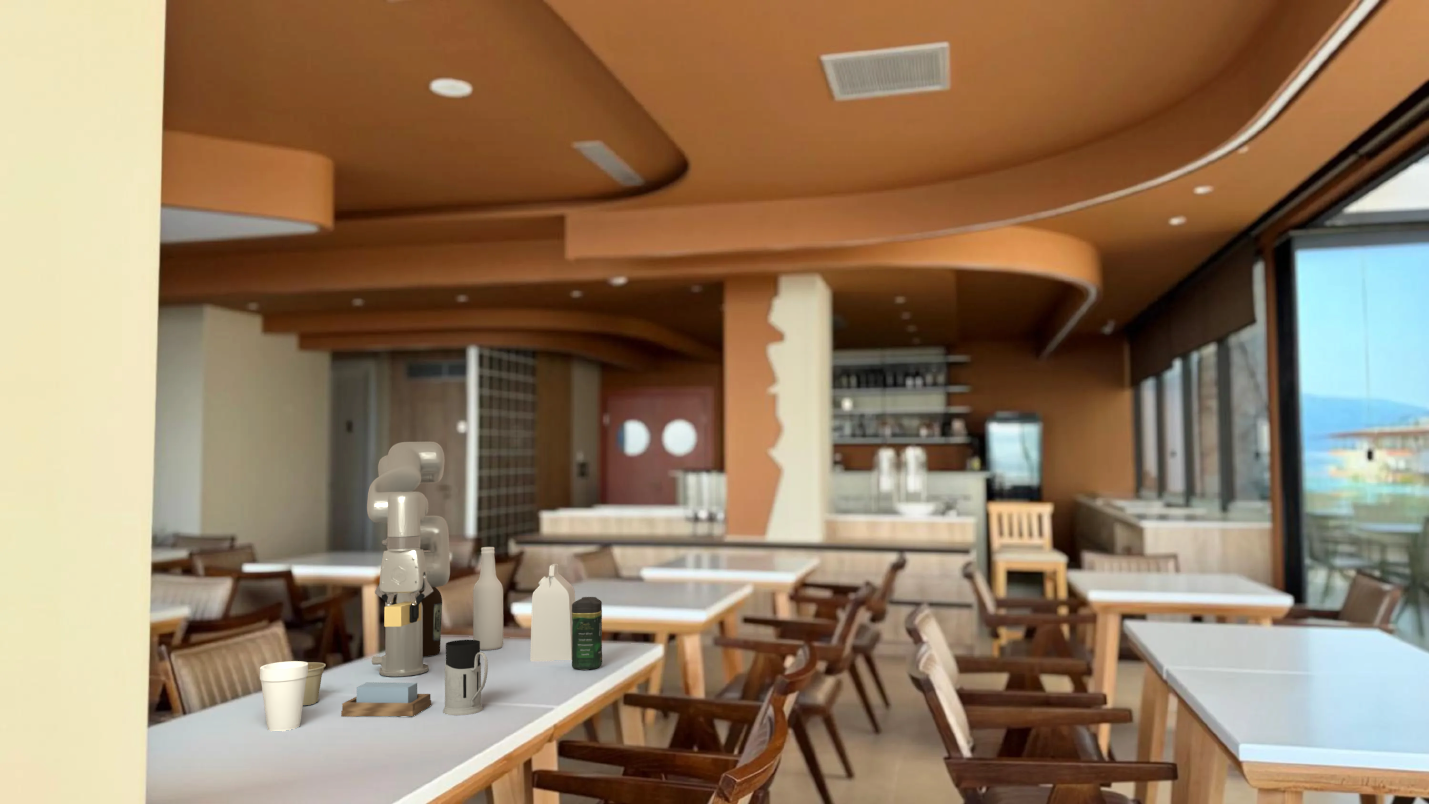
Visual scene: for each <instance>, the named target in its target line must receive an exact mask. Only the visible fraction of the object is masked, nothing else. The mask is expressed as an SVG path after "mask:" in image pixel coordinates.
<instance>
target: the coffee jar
mask: <svg viewBox="0 0 1429 804" xmlns="http://www.w3.org/2000/svg"><path fill="white" fill-rule="evenodd" d="M602 605H603V603H602V600H600V599H599V598H598V597H596V596H582V597H581V598H579V599H578V600H575V602H574V603H573V604H572V661H571V667H572V669H573V670H574V669H575V670H577V669H578V670H581V671H588V670H590V669H594V670H595V669H598V668H600V667H601V666H602V664H603V609H602V607H603V606H602Z"/></svg>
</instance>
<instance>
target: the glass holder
mask: <svg viewBox="0 0 1429 804" xmlns="http://www.w3.org/2000/svg"><path fill="white" fill-rule="evenodd" d="M481 656H482V658H483V662H484V664H483V665H484V671H483V672H484V673H483V678H482V663H481ZM444 661H445V662H444V708H443V710H442V713H443V714H444V713H445V714H444V715H447V714H448V716H466V715H467V716H469V715H473V714H477V713H480V712H482V711H483V710H484V707H483V705H482V691H483V689H484V688H485V685H486V682H487V677H488V672H489V671H488V669H489V667H488V663H489V662H488V658H487V655H486V654H485V652H484V651H481V650H480V641H478V640H473V639H459V640H458V639H456V640H451V641H448V642H446V643H445V660H444Z"/></svg>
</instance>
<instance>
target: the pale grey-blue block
mask: <svg viewBox="0 0 1429 804" xmlns="http://www.w3.org/2000/svg"><path fill="white" fill-rule="evenodd" d="M417 694H418V682H381V681H380V682H374V681H373V682H365V683H363V684H361V685H359V686H356V697H357V702H363V703H411V702H413V701H415V700H416V699H417Z"/></svg>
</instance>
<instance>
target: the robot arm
mask: <svg viewBox="0 0 1429 804" xmlns="http://www.w3.org/2000/svg"><path fill="white" fill-rule="evenodd" d="M445 463H446V460H445V453H444V450H443V447H442V446H441V445H440V444H439V443H437V442H436V441H403V442H398V443H395V444H393V445H392V446H391V447H390V449H389V450H388V453H387V454H386V455H384V456H382V457H381V458H380V459H379V462H378V464H377V471H378V472H377V473H378V477H376V478H375V479H374V480H372V482H371V483H370V485H369V487H368V488H369V489H368V493H367V502H366V503H367V504H366V511H367V516H368V519H369V520H370V521H371V522H373V523H374V524H375V523H377V524H387V537H386V539H382V540H381V544H382V546H385V547H386V549H387V550H383V554H382V556H381V557H382V559H381V565H380V573H379V574H380V575H379V584H378V586H377V588H376V589H375V591H374V594H375V595H377V596H378V597H380V598H381V599H382V600H383V601H384V603H385V606H384V608H385V607H386V606H390V605H394V604H398V603H402V602H409V601H411V606H410V624H407V625H404V626H394V627H385V630H384V631H385V634H384V635H385V640H384V641H385V646H384V647H385V655H382V656H372V658H371V664H372V665H373V666H376V665H377V666H378V665H380V666H381V667H380V668H379V671H378V672H379V673H378V674H379V675H381V676H383V677H408V676H415V675H417V676H418V675H420V674H424V673H426V672H428V671H429V669H430V667H429V665H428V664H426V663H424V662H423V660H424V659H423V658H424V657H423V606H422V603H421V602H422V601H423V599H424V598H425V597H426V596H428V595H429V594H431V593H432V592H433V589H432V587H436V588H438V587H443V586H446V584H448V583H449V580H450V575H451V562H450V561H451V560H450V556H451V555H450V535H449V526H448V523H447V520H446V519H445V518H444V517H442V516H440V515H428V514H429V513H428V512H429V500H428V498H427V497H426V495H425V494H424V493H422V492H421V491H415V490H417V488H418V487H419V486H420V484H435V483H439V482H440V481H441V480H442V478H443V476H444V469H445ZM422 590H424V592H422V593H421V594H420V593H419V591H422ZM420 603H421V620H420V621H417V619H418V618H419V604H420Z"/></svg>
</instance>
